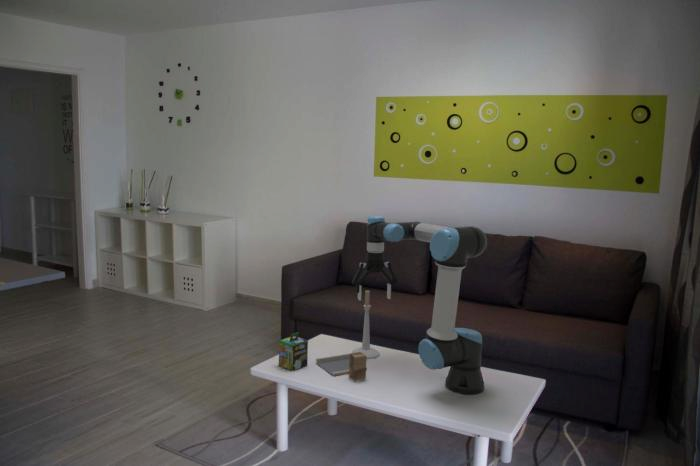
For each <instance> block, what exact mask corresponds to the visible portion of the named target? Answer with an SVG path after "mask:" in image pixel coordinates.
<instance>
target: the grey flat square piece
mask: <svg viewBox="0 0 700 466" xmlns="http://www.w3.org/2000/svg"><path fill="white" fill-rule="evenodd" d="M350 354H351V353H344V354H337V355H332V356H324V357H317V358H316V360H315V364H316V365H317V366H318V367H320V368H321V369H322V370H324V371H325V372H326V373H327V374H329V375H330V376H332V377H336V376H337V377H338V376H343V375H349V357H350ZM367 370H368V367H367V366H366V372H367Z"/></svg>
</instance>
